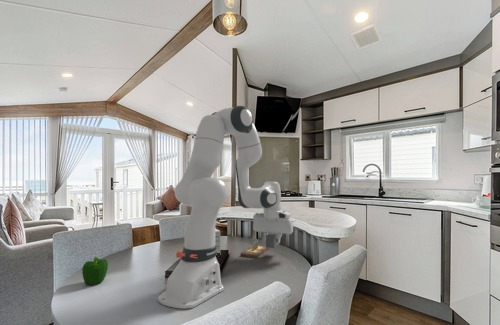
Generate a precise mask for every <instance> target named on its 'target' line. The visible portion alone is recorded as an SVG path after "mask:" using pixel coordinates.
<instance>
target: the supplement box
mask: <svg viewBox="0 0 500 325" xmlns="http://www.w3.org/2000/svg"><path fill="white" fill-rule="evenodd" d="M215 244H216V245H217V253H220V254H221V231H220V230H219V229H217V228H215Z"/></svg>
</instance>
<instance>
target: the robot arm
mask: <svg viewBox="0 0 500 325" xmlns="http://www.w3.org/2000/svg"><path fill="white" fill-rule="evenodd" d="M252 113H253V112H252V111H251V110H250V109H249V108H248V107H247V106H246V105H236V106H234V107H228V108H226V107H225V108H223V109H221V110H218V111H215V112H213V113H211V114H207V115H204V116H203V117H202V118H201V120H200V122H199V124H198V127H197V131H196V132H195V133H196V134H195V138H194V142H193V147H192V151H191V156H190V159H189V162H188V165H187V167H186V169H185V172H184V174H183V175H182V177H181V180H180V181H179V182H178V183H177V184H176V185H175V189H174V196H175V199H176V200H177V201H178V202H179V203H180V204H182V205H183V206H187V207H191V210H190V215H189V218H188V220H187V221H186V222H185V224H184V228H183V229H184V231H183V232H184V246H183V247H182V251H179V250H178V251H177V252H176V253H175V254H176V255H175V257H176V258H178V259H179V258H180V260H179V262H178V264H177V265H176V266H175V268H174V270H172V272H171V274H170V275H169V276H168V278H167V280H166V287H165V290H164V291H163V293H161V294H160V295H159V296H158V297H157V301H158V302H159V303H160V304H161V305H163V306H167V307H171V308H174V309H175V308H176V309H183V310H185V309H193V308H195V307H197V306H199V305H200V304H203V303H204V302H205V301H207V300H208V299H210V298H212V297H214V296H216V295H218V294H219V293H220V292H223V291H224V289H225V287H224V285H223V284H222V280H221V269H220V263H219V261H218V259H217V257H216V255H217V245H216V244H215V229H216V225H217V219H218V215H219V211H220V210H221V208H222V206H223V205H224V204H225V203H226V201H227V199H228V194H229V192H228V191H229V190H228V187H227V184H226V183H225V182H224V181H223V180H222V179H218V178H215V177H213V174H214V172H215V171H216V170H217V168H218V167H220V164H221V158H222V155H223V154H222V152H223V149H224V148H223V147H224V141H225V136H228V135H231V136H233V138H234V141H235V145H236V149H237V158H236V160H235V172H236V174H235V175H236V181H237V182H236V184H237V201H238V203H239V205H240V206H241V207H242V208H244V209H263V212H262V213H261V212H255V213H254V214H253V217H252V220H253V223H252V224H253V226H252V228H253V229H252V230H253V231H254V232H258V233H263V236H264V238H265V239H266V235H268V234H269V233H278V236H279V237H278V238H277V239H276V242H277V243H279V244H280V242H281V239H282V238H281V237H282V236H283V235H285V234H286V235H292V234H293V232H294V223H293V219H292V218H291V215H292V214H291V213H290V212H289V211H285V210H283V209H282V205H281V200H282V197H281V196H282V193H281V186H280V183H279V182H278V181H274V180H266V181H265V182H263V185H262V186H261V187H257V188H255V187H252V186H250V181H249V179H250V178H249V168H251V167H252V166H254V165H255V164H256V163H258V162H259V161H260V159H261V158H262V155H263V148H262V143H261V139H260V135H259V134H258V133H259V132H258V130H257V129H256V126H255V124H254V117H253V114H252Z"/></svg>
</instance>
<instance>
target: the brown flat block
mask: <svg viewBox="0 0 500 325" xmlns="http://www.w3.org/2000/svg"><path fill="white" fill-rule="evenodd" d="M268 250H269V247H266V245H260V244H259V243H258V239H255V240H254V241H252V243H251V245H250V246H249V247H247V248H246V249H245V250H242V251H241V252H240V257H245V258H247V257H248V258H254V259H258V258H259V257H260V256H261V255H263V254H264V253H266V252H267V251H268Z"/></svg>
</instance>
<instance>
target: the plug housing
mask: <svg viewBox="0 0 500 325" xmlns="http://www.w3.org/2000/svg"><path fill="white" fill-rule="evenodd" d="M278 237H279V236H278V233H268V234H267V235H266V238H265V246H266V247H268V248H270V249H275V248H276V247H278V246H279V244H280V242H279V243H277V242H276V239H277V238H278Z"/></svg>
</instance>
